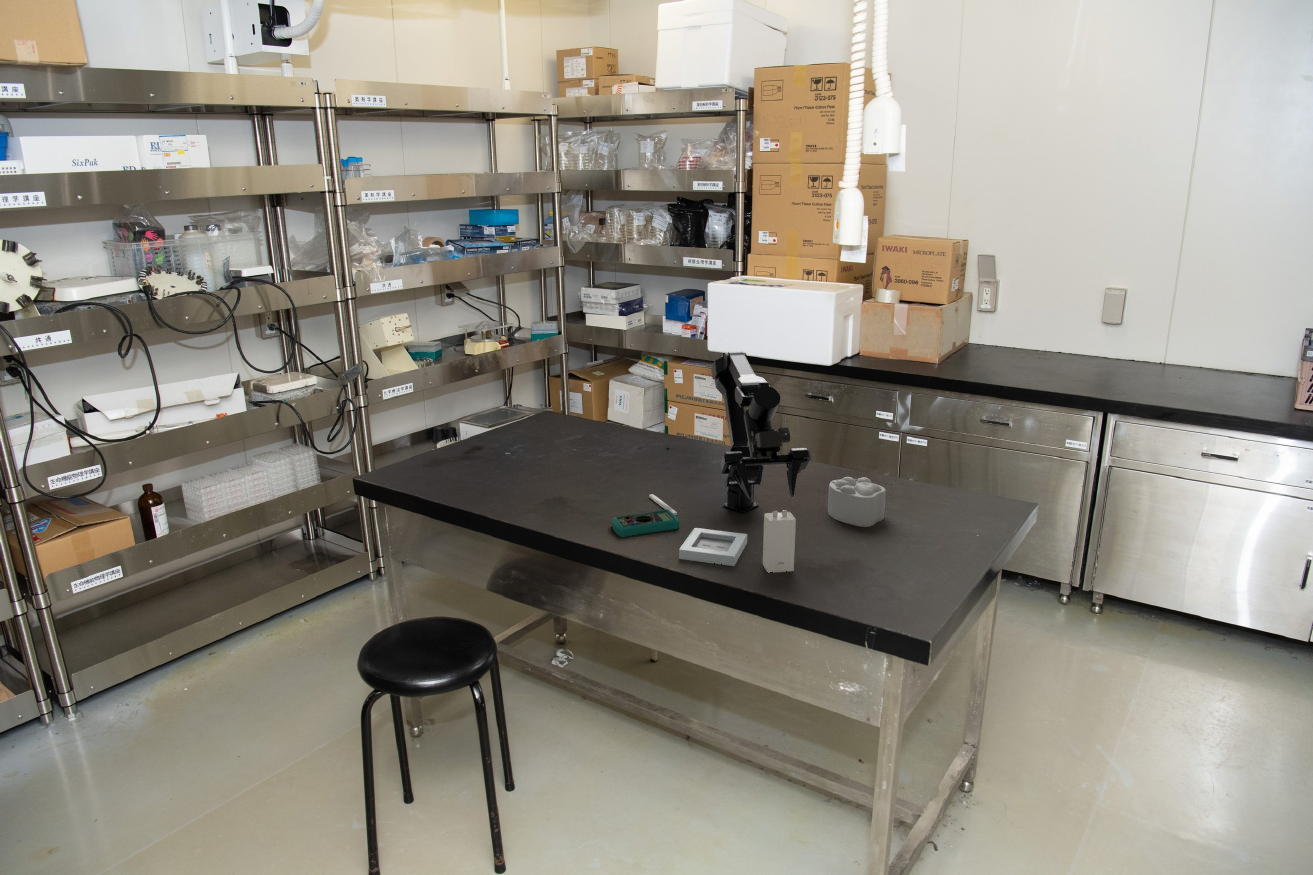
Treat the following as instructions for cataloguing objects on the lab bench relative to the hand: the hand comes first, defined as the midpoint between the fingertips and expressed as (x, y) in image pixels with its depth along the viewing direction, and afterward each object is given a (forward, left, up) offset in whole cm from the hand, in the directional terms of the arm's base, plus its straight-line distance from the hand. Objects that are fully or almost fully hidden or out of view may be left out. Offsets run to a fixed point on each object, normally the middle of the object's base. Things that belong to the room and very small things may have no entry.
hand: (771, 497), depth 182 cm
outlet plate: (+7, -10, -13) cm, 18 cm away
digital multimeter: (+8, -30, -14) cm, 34 cm away
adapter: (+4, +5, -13) cm, 15 cm away
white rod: (-4, -36, -13) cm, 38 cm away
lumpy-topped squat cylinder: (-31, +1, -13) cm, 34 cm away
